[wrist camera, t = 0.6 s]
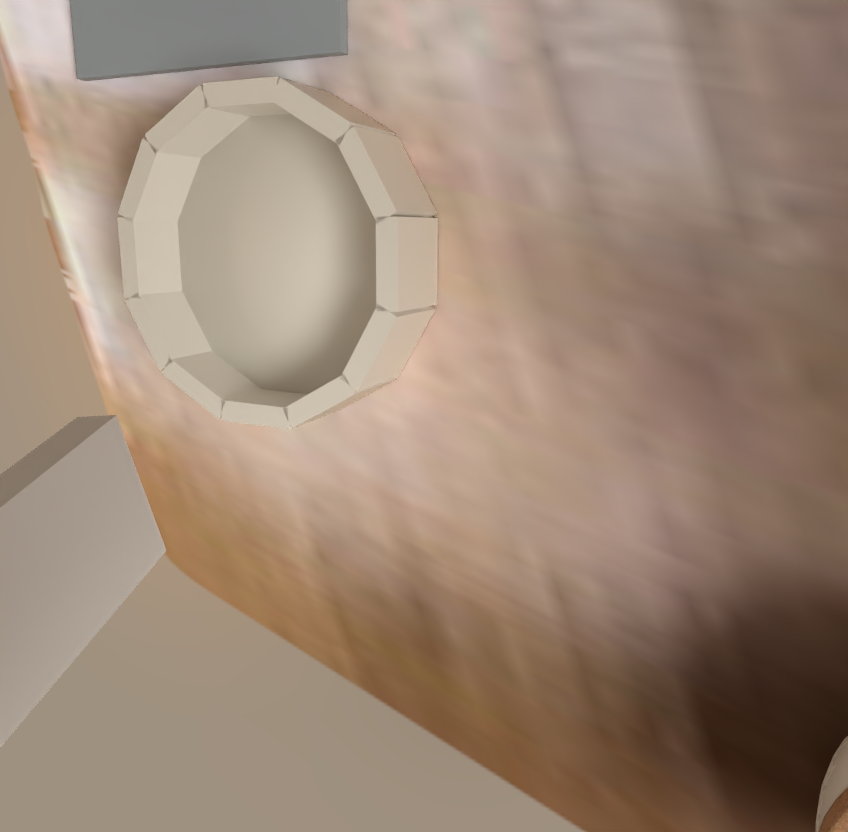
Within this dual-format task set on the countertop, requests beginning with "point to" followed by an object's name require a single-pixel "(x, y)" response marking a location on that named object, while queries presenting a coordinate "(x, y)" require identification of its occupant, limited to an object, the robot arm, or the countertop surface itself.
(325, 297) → the bowl
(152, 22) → the mat
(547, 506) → the countertop surface
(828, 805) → the lidded jar
